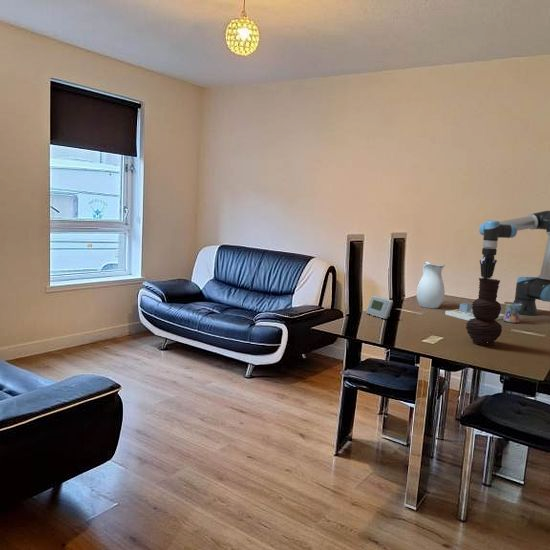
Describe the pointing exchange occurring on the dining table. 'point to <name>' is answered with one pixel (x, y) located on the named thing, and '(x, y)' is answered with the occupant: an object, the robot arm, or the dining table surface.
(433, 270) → the pitcher
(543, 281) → the robot arm
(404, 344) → the dining table surface
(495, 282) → the vase
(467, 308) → the tab
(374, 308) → the digital clock
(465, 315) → the switch board
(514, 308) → the mug
